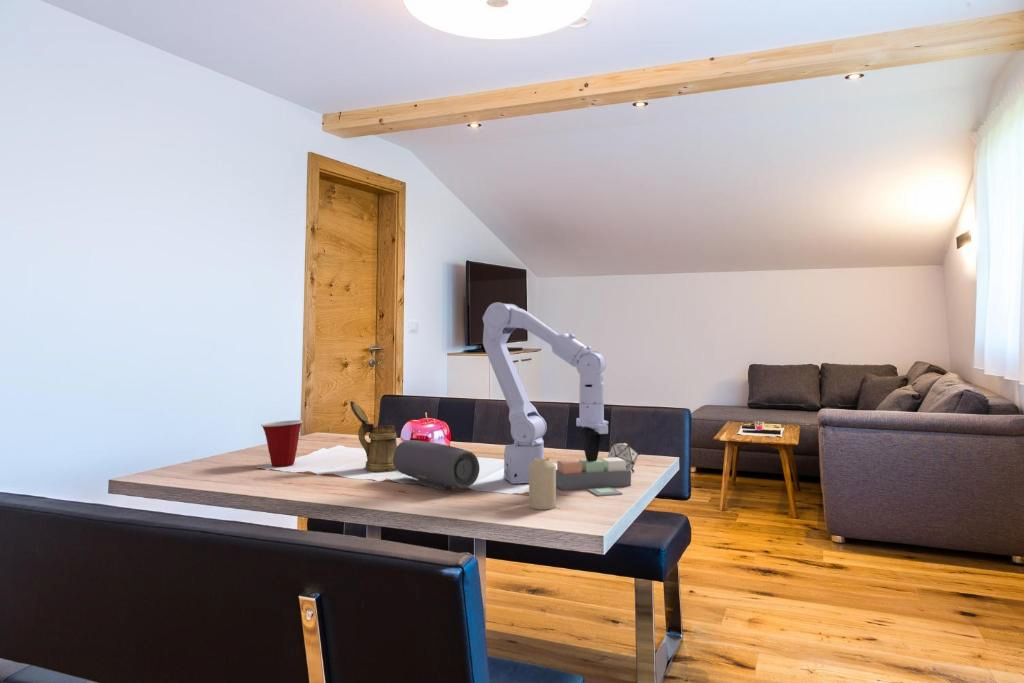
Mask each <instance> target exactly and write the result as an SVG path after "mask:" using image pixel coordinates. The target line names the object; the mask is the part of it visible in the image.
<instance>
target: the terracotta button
mask: <svg viewBox="0 0 1024 683" xmlns="http://www.w3.org/2000/svg"><path fill="white" fill-rule="evenodd" d="M556 462H557V463H556V464H557V465H556V470H557V471H558V472H560V473H561V474H577V473H582V463H580V462H579V461H578V460H576V459H564V460H557V461H556Z"/></svg>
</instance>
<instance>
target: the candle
mask: <svg viewBox="0 0 1024 683" xmlns="http://www.w3.org/2000/svg"><path fill="white" fill-rule="evenodd" d="M556 470H557V465H556V464H555V463H554V462H553V460H552V459H551V458H550V457H548V458H544V459H536V458H535V459H534V460H533V462H532V463H531V464H530V465H529V483H528V503H529V504H528V505H529V508H530V509H534V510H538V511H539V510H553V509H554V508H556V505H557V504H556V502H557V501H556V500H557V499H556V498H557V496H556V495H557V492H556V490H557V487H556Z"/></svg>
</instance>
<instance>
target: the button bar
mask: <svg viewBox="0 0 1024 683" xmlns="http://www.w3.org/2000/svg"><path fill="white" fill-rule="evenodd" d="M630 486H632V470H628V469H626V471H610V472H608V471H606V470H604V472H594V473H585V472H583V471H582V473H577V474H561V473H560V472H558V471H557V469H556V489H559V490H560V491H571V490H587V489H591V488H606V487H612V488H614V487H615V488H616V487H630Z"/></svg>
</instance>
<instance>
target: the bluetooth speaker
mask: <svg viewBox="0 0 1024 683" xmlns="http://www.w3.org/2000/svg"><path fill="white" fill-rule="evenodd" d="M393 463H394V466H395V468H396V469H397V470H396V471H397V472H399V473H401V474H403V475H405V476H409V477H410V478H412V479H416V480H418V481H417V482H418V484H420V485H423V486H427V487H431V488H434V489H439V490H449V489H452V488H455V489H456V488H458V489H466V488H469V487H471V486H472V485H474V483H476V481H477V479H478V477H479V475H480V474H479V473H480V463H479V460H478V457H477V456H476V454H474V453H473V452H472V451H470V450H467V449H463V448H459V447H456V446H451V445H447V444H442V443H437V442H431V441H423V440H415V439H414V440H413V439H412V440H411V439H410V440H409V439H408V440H407V439H406V440H404V441H402V442H400V443H399V444H397V448H396V450H395V452H394V456H393Z"/></svg>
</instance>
